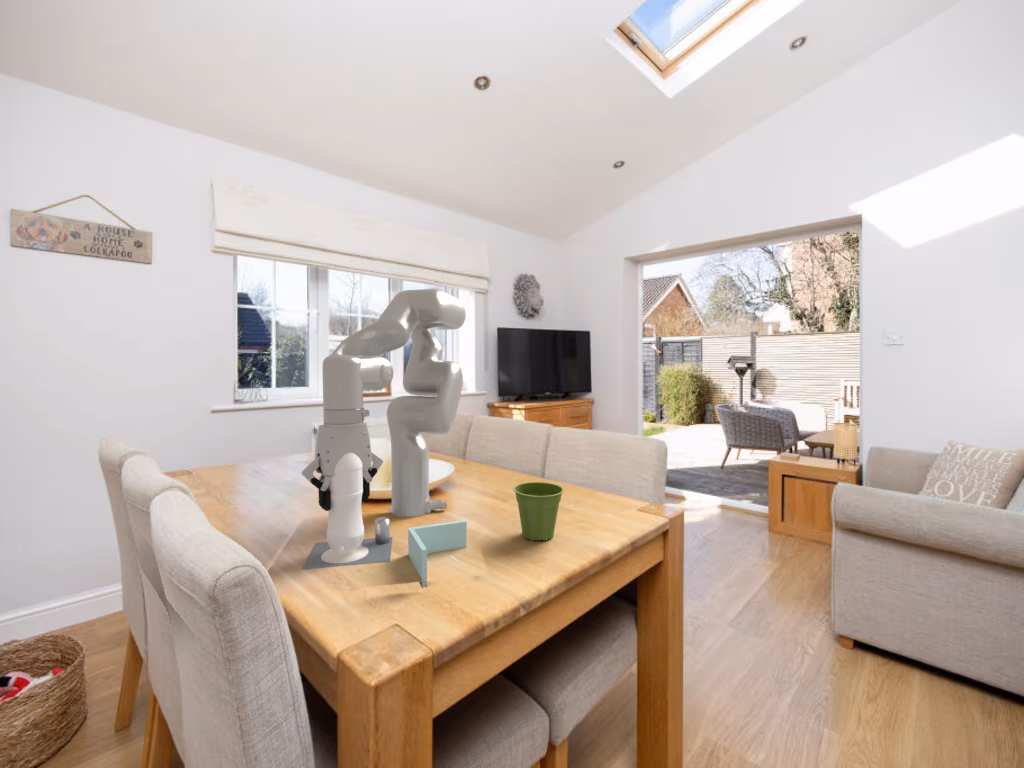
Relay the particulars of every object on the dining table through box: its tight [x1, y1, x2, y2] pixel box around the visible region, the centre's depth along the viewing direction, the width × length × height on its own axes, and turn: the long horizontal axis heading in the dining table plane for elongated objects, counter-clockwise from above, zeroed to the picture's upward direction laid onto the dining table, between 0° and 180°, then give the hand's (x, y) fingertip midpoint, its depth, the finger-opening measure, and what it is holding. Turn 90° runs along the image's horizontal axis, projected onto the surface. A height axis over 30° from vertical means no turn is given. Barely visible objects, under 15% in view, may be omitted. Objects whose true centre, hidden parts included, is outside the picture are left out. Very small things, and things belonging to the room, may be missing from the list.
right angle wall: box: [407, 519, 468, 589], centre depth 90 cm, size 12×12×8 cm
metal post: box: [374, 516, 391, 545], centre depth 100 cm, size 3×3×5 cm
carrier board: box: [301, 536, 393, 570], centre depth 95 cm, size 16×13×2 cm
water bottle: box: [326, 453, 365, 552], centre depth 93 cm, size 7×7×25 cm
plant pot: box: [512, 481, 565, 541], centre depth 107 cm, size 12×12×11 cm
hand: (345, 504), depth 93 cm, fingers closed on water bottle, 7 cm apart
